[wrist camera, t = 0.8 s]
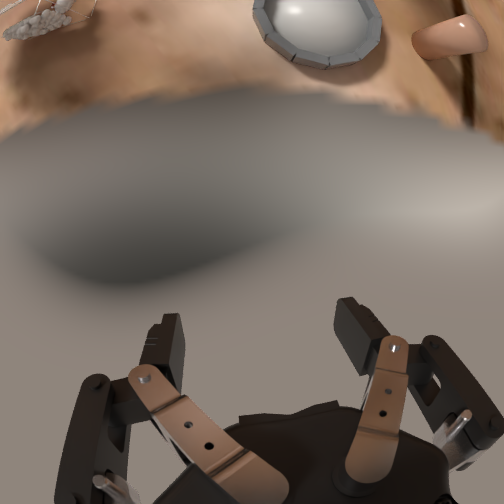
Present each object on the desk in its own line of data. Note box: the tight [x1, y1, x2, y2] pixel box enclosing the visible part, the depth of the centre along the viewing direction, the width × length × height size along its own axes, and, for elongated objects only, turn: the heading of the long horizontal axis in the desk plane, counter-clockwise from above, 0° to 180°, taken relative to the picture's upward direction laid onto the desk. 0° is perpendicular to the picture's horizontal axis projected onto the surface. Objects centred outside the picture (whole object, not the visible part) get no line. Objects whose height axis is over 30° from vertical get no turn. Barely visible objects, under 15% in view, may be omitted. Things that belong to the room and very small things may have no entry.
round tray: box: [253, 0, 382, 70], centre depth 23 cm, size 16×16×3 cm
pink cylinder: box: [412, 15, 488, 60], centre depth 19 cm, size 5×5×12 cm
